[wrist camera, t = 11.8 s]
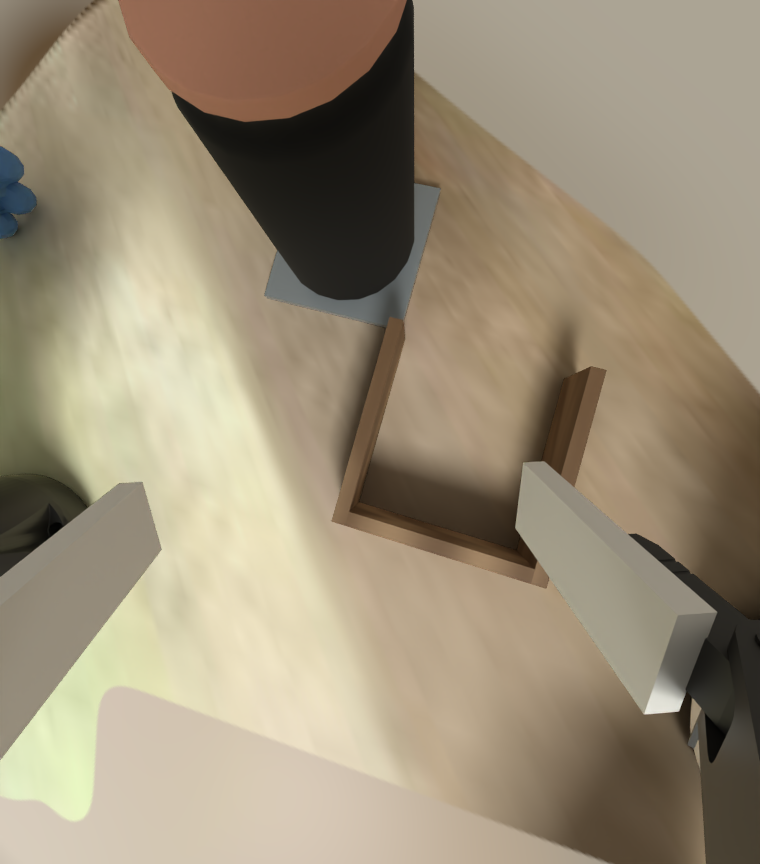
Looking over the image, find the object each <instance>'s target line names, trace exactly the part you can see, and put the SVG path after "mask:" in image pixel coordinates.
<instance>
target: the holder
mask: <svg viewBox="0 0 760 864" xmlns="http://www.w3.org/2000/svg"><path fill="white" fill-rule="evenodd" d="M404 341H405V332H404V322H403V320H401V319H397V318H393V317H389V321H388V324H387V328H386V331H385V335H384V338H383V342H382V345H381V349H380V352H379V356H378V360H377V363H376V367H375V370H374V374H373V377H372V381H371V384H370V388H369V391H368V395H367V398H366V402H365V405H364V409H363V412H362V416H361V419H360V423H359V426H358V430H357V433H356V437H355V441H354V444H353V448H352V451H351V455H350V458H349V462H348V465H347V469H346V472H345V476H344V479H343V483H342V486H341V490H340V493H339V497H338V500H337V504H336V507H335V511H334V514H333V518H332V522H335V523H338V524H341V525H345V526H348V527H351V528H354V529H357V530H361V531H364V532H367V533H370V534H373V535H377V536H380V537H383V538H386V539H389V540H393V541H396V542H399V543H402V544H405V545H408V546H412V547H415V548H418V549H421V550H424V551H428V552H431V553H434V554H437V555H440V556H444V557H447V558H450V559H453V560H456V561H460V562H463V563H466V564H469V565H472V566H475V567H479V568H482V569H485V570H488V571H491V572H495V573H498V574H501V575H504V576H507V577H511V578H514V579H517V580H520V581H523V582H526V583H530V584H533V585H536V586H539V587H542V588H547V584H548V581H549V576H548V575H547V573H546V572H545V570H544V569H543V568H542V566H541V565H540V563H539V562H538V560H537V559H536V557H535V556H534V554H533V553H532V552H531V550H530V549H529V547H528V546H527V544H526V543H525V541H524V540H523V539H522V537H521V536H520V539H519V543H518V547H517V550H514V549H511V548H508V547H504V546H501V545H498V544H495V543H491V542H488V541H485V540H482V539H478V538H475V537H472V536H468V535H465V534H462V533H459V532H455V531H452V530H449V529H445V528H442V527H439V526H436V525H432V524H429V523H426V522H423V521H419V520H416V519H413V518H409V517H406V516H403V515H400V514H396V513H393V512H390V511H386V510H383V509H380V508H377V507H373V506H370V505H367V504H363V503H360V502H359V500H360V497H361V493H362V490H363V486H364V483H365V479H366V476H367V472H368V468H369V465H370V461H371V458H372V454H373V451H374V447H375V444H376V440H377V437H378V433H379V430H380V426H381V423H382V419H383V415H384V412H385V408H386V405H387V401H388V398H389V394H390V391H391V387H392V384H393V380H394V377H395V373H396V370H397V366H398V363H399V359H400V355H401V352H402V348H403V345H404ZM605 374H606V370H604V369H600V368H596V367H592V366H591V367H589V368H586V369H584V370H582V371H580V372H578V373H576V374H573V375H571V376H569V377H567V378H565V379H564V381H563V384H562V388H561V391H560V395H559V399H558V402H557V406H556V409H555V413H554V417H553V420H552V424H551V428H550V431H549V435H548V438H547V442H546V446H545V449H544V453H543V456H542V460H541V461H544V462H546V463H547V464H548V465H549V466H550V467H551V468H552V469H554V470H555V471H556V472H557V473H558V474H559V475H561V476H562V477H563V478H564V479H565V480H566V481H567V482H569V483H570V484H571V485H572V486H573V487H574V486H575V483H576V479H577V475H578V472H579V468H580V465H581V461H582V457H583V454H584V450H585V446H586V443H587V439H588V436H589V432H590V428H591V425H592V421H593V417H594V414H595V410H596V407H597V403H598V399H599V396H600V392H601V388H602V385H603V381H604V378H605Z"/></svg>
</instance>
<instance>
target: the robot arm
mask: <svg viewBox="0 0 760 864" xmlns="http://www.w3.org/2000/svg"><path fill="white" fill-rule="evenodd" d="M515 528H516V530H517V531H518V533H519V534H520V536H521V537H522V539H523V540H524V541H525V543H526V544H527V546H528V547H529V549H530V550H531V552H532V553H533V554H534V556H535V557H536V559H537V560H538V562H539V563H540V565H541V566H542V568H543V569H544V570H545V572H546V573H547V575H548V576H549V578H550V579H551V581H552V582H553V583H554V585H555V586H556V588H557V589H558V591H559V592H560V594H561V595H562V596H563V598H564V599H565V601H566V602H567V604H568V605H569V607H570V608H571V609H572V611H573V612H574V614H575V615H576V617H577V618H578V620H579V621H580V623H581V624H582V625H583V627H584V628H585V630H586V631H587V633H588V634H589V636H590V637H591V638H592V640H593V641H594V643H595V644H596V646H597V647H598V649H599V650H600V651H601V653H602V654H603V656H604V657H605V659H606V660H607V662H608V663H609V664H610V666H611V667H612V669H613V670H614V672H615V673H616V675H617V676H618V678H619V679H620V680H621V682H622V683H623V685H624V686H625V688H626V689H627V691H628V692H629V693H630V695H631V696H632V698H633V699H634V701H635V702H636V704H637V705H638V706H639V708H640V709H641V711H642V712H643V714H644V715H645V714H656V713H667V712H678V711H679V710H680V707H681V704H682V702H683V699H684V697H685V694H686V692H688V693H689V694H690V695H691V697H692V698H693V699H694V700H695V701H696V703H697V704H698V705H699V706H700V707H701V711H700V713H699V716H698V718H697V720H696V723H695V725H694V728H693V730H692V732H691V735H690V737H689V741H688V746H690V747H692V748H695V746H696V744H697V741H698V740H699V755H700V771H701V788H702V804H703V821H704V837H705V854H706V864H760V620H749V619H748V618H746V617H745V616H744V615H743V614H741V613H740V612H739V611H738V610H737V609H735V608H734V607H733V606H732V605H730V604H729V603H728V602H727V601H726V600H724V599H723V598H722V597H721V596H720V595H718V594H717V593H716V592H715V591H713V590H712V589H711V588H710V587H709V586H707V585H706V584H705V583H704V582H702V581H701V580H700V579H699V578H698V577H696V576H695V575H694V574H690V572H689V570H688V569H687V568H685V567H684V566H683V565H682V564H681V563H679V562H676V561H675V559H674V558H673V557H672V556H671V555H670V554H668V553H667V552H666V551H665V550H663V549H662V548H661V547H660V546H659V545H657V544H655V543H653V542H651V541H649V540H648V539H646V538H644V537H642V536H640V535H638V534H627V533H626V532H625V531H624V530H622V529H621V528H620V527H619V526H618V525H617V524H616V523H614V522H613V521H612V520H611V519H610V518H609V517H608V516H606V515H605V514H604V513H603V512H602V511H601V510H600V509H598V508H597V507H596V506H595V505H594V504H593V503H591V502H590V501H589V500H588V499H587V498H586V497H585V496H583V495H582V494H581V493H580V492H579V491H578V490H577V489H575V488H574V487H573V486H572V485H571V484H570V483H569V482H567V481H566V480H565V479H564V478H563V477H562V476H561V475H559V474H558V473H557V472H556V471H555V470H554V469H552V468H551V467H550V466H549V465H548V464H547V463H546V462H544V461H541V462H523V468H522V476H521V485H520V493H519V501H518V509H517V517H516V525H515ZM161 550H162V549H161V545H160V542H159V538H158V535H157V531H156V528H155V524H154V521H153V517H152V514H151V510H150V507H149V503H148V500H147V496H146V493H145V489H144V486H143V482H135V483H119V484H118V485H116V486H115V487H114V488H112V489H111V490H110V491H109V492H107V493H106V494H105V495H104V496H102V497H101V498H100V499H99V500H97V501H96V502H95V503H93V504H92V505H91V506H90V507H88V508H87V507H86V505H85V504H84V503H83V501H82V500H81V499H80V498H79V497H78V496H77V495H76V494H75V493H74V492H73V491H72V490H70V489H69V488H68V487H66V486H65V485H63V484H62V483H60V482H58V481H56V480H54V479H51V478H48V477H45V476H41V475H34V474H19V475H5V476H0V760H1V759H2V757H3V756H4V755H5V753H6V752H7V751H8V750H9V748H10V747H11V746H12V744H13V743H14V742H15V740H16V739H17V738H18V736H19V735H20V734H21V733H22V731H23V730H24V729H25V727H26V726H27V725H28V723H29V722H30V721H31V719H32V718H33V717H34V716H35V714H36V713H37V712H38V710H39V709H40V708H41V706H42V705H43V704H44V703H45V701H46V700H47V699H48V697H49V696H50V695H51V693H52V692H53V691H54V689H55V688H56V687H57V686H58V684H59V683H60V682H61V680H62V679H63V678H64V676H65V675H66V674H67V672H68V671H69V670H70V669H71V667H72V666H73V665H74V663H75V662H76V661H77V659H78V658H79V657H80V656H81V654H82V653H83V652H84V650H85V649H86V648H87V646H88V645H89V644H90V642H91V641H92V640H93V639H94V637H95V636H96V635H97V633H98V632H99V631H100V629H101V628H102V627H103V625H104V624H105V623H106V622H107V620H108V619H109V618H110V616H111V615H112V614H113V612H114V611H115V610H116V609H117V607H118V606H119V605H120V603H121V602H122V601H123V599H124V598H125V597H126V595H127V594H128V593H129V592H130V590H131V589H132V588H133V586H134V585H135V584H136V582H137V581H138V580H139V579H140V577H141V576H142V575H143V573H144V572H145V571H146V569H147V568H148V567H149V565H150V564H151V563H152V562H153V560H154V559H155V558H156V556H157V555H158V554H159V552H160V551H161Z"/></svg>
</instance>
